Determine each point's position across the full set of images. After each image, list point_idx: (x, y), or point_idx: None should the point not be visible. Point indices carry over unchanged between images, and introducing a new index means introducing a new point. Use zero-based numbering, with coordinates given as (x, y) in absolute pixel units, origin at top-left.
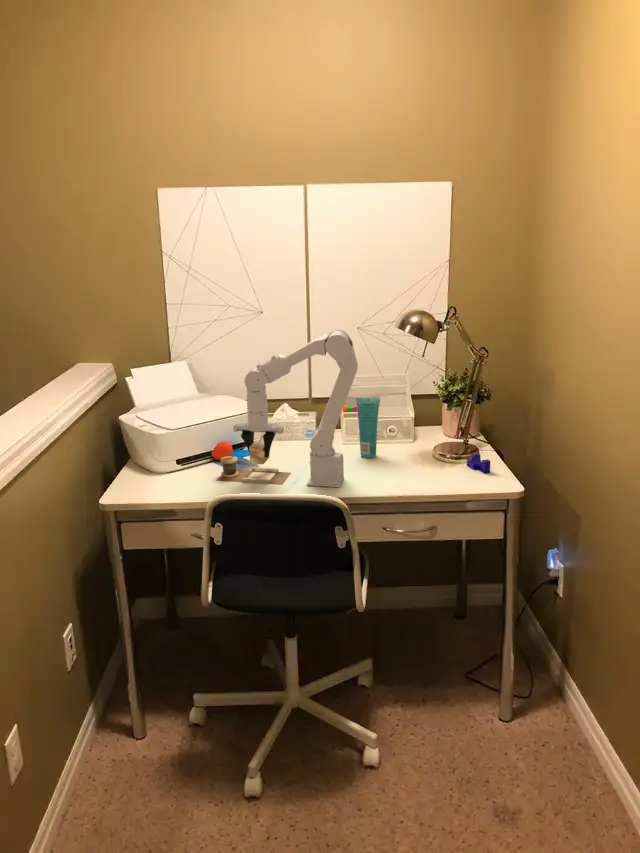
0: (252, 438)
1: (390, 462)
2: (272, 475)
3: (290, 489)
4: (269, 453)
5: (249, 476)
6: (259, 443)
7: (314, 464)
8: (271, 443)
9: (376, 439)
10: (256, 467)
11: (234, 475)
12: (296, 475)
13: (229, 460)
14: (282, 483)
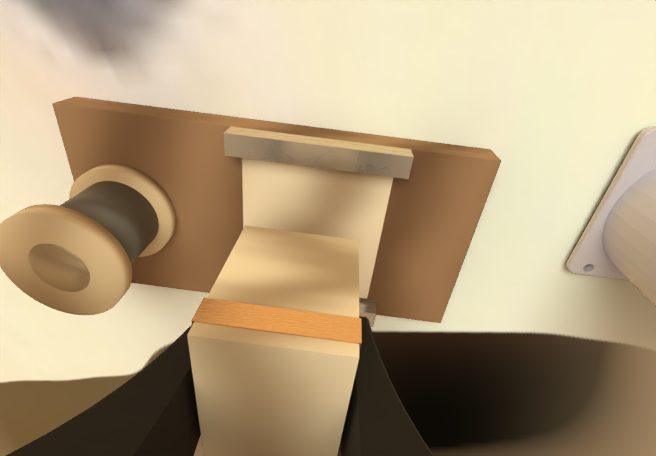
0: (165, 451)
1: None
2: (377, 218)
3: (473, 301)
4: (370, 330)
5: None
6: (266, 407)
7: None
8: (400, 413)
9: None
10: (251, 139)
11: (165, 243)
12: (525, 110)
13: (83, 295)
14: (440, 310)
